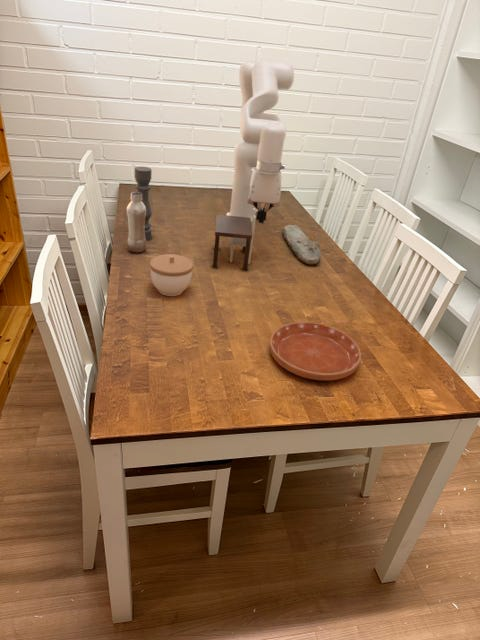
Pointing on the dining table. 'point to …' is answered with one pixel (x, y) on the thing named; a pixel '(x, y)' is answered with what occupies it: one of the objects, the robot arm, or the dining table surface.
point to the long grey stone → (302, 245)
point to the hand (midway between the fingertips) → (260, 221)
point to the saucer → (315, 351)
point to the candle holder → (144, 194)
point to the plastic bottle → (136, 223)
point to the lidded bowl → (171, 273)
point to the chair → (243, 240)
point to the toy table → (233, 234)
